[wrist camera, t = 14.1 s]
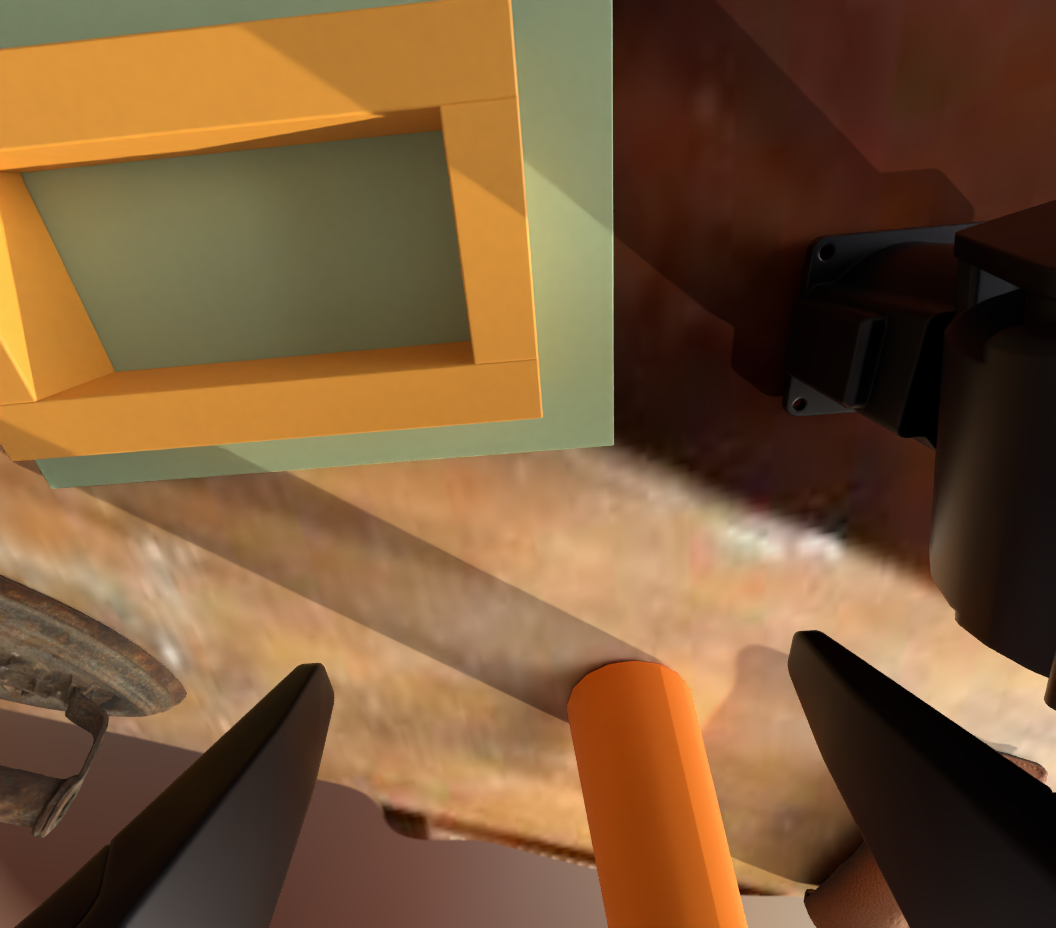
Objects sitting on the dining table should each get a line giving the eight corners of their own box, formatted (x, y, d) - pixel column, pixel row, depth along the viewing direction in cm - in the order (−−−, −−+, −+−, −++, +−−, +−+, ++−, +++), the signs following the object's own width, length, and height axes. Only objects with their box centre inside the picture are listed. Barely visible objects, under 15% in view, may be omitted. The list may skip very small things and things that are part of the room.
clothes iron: (-36, 553, 23) (-270, 759, 15) (223, 607, 28) (158, 783, 20) (-61, 654, 25) (-280, 885, 17) (185, 687, 30) (112, 877, 22)
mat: (609, -96, 13) (612, -105, 13) (612, 441, 20) (614, 445, 20) (-230, -2, 14) (-250, -8, 14) (58, 484, 21) (50, 489, 21)
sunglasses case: (899, 904, 38) (912, 1008, 32) (803, 843, 40) (800, 929, 35) (1057, 764, 30) (1111, 870, 24) (926, 699, 32) (947, 781, 27)
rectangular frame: (513, 39, 14) (510, -10, 11) (540, 386, 19) (543, 418, 16) (-79, 103, 15) (-236, 73, 12) (91, 424, 19) (10, 462, 16)
